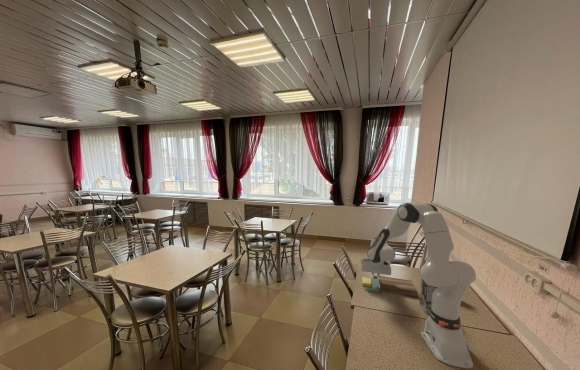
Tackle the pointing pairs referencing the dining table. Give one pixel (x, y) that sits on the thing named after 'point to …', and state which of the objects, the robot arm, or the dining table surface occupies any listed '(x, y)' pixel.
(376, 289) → the mat
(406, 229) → the robot arm
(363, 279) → the yellow block
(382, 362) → the dining table surface
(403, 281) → the board
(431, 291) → the coffee box
